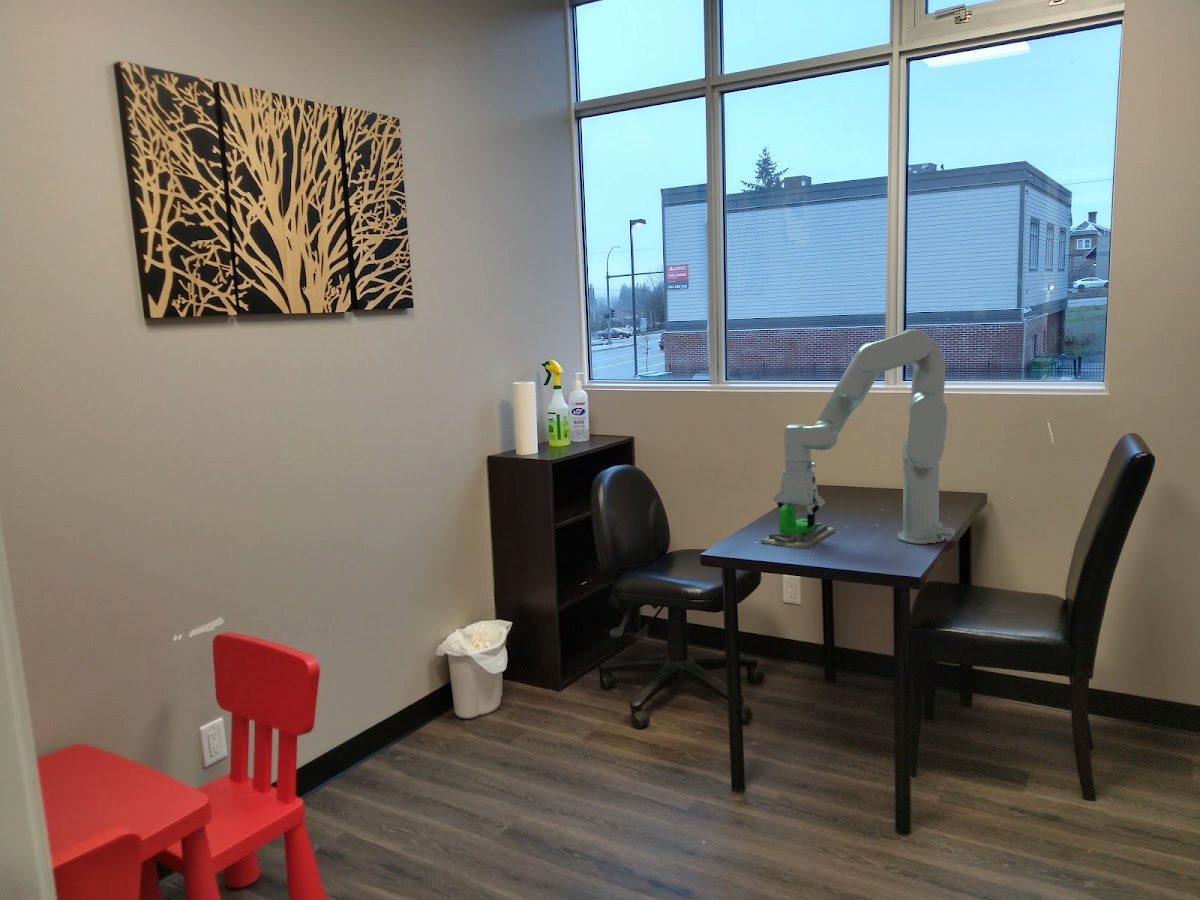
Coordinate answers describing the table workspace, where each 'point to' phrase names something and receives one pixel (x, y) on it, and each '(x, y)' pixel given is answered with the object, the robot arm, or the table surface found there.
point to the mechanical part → (792, 522)
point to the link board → (800, 544)
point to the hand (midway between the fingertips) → (799, 524)
